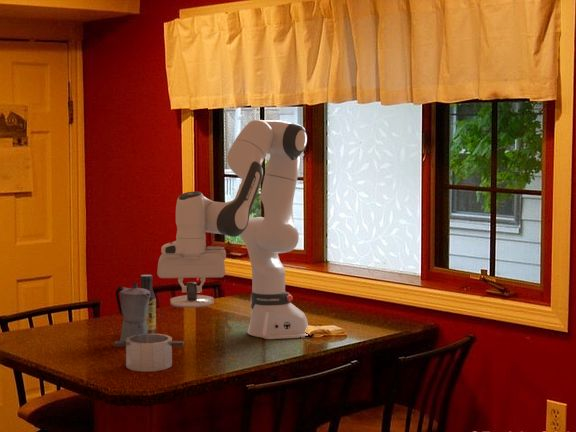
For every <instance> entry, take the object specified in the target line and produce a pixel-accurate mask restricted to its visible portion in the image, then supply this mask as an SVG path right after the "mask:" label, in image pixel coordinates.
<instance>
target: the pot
mask: <svg viewBox="0 0 576 432" xmlns="http://www.w3.org/2000/svg"><path fill="white" fill-rule="evenodd" d="M184 344H185V341H184V340H173V337H172V336H170V335H168V334H163V333H162V334H161V333H154V334H139V335H133V336H130V337H127V339H126V341H120V340H119V341H118V340H116V341H114V343H113V347H114V348H115V347H117V348H118V347H120V348H121V347H123V348H124V347H125V362H126V363H125V366H126V368H127V369H129V370H131V371H135V372H158V371H164V370H167V369H170V368H171V367H172V365H173V347H184Z"/></svg>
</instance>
